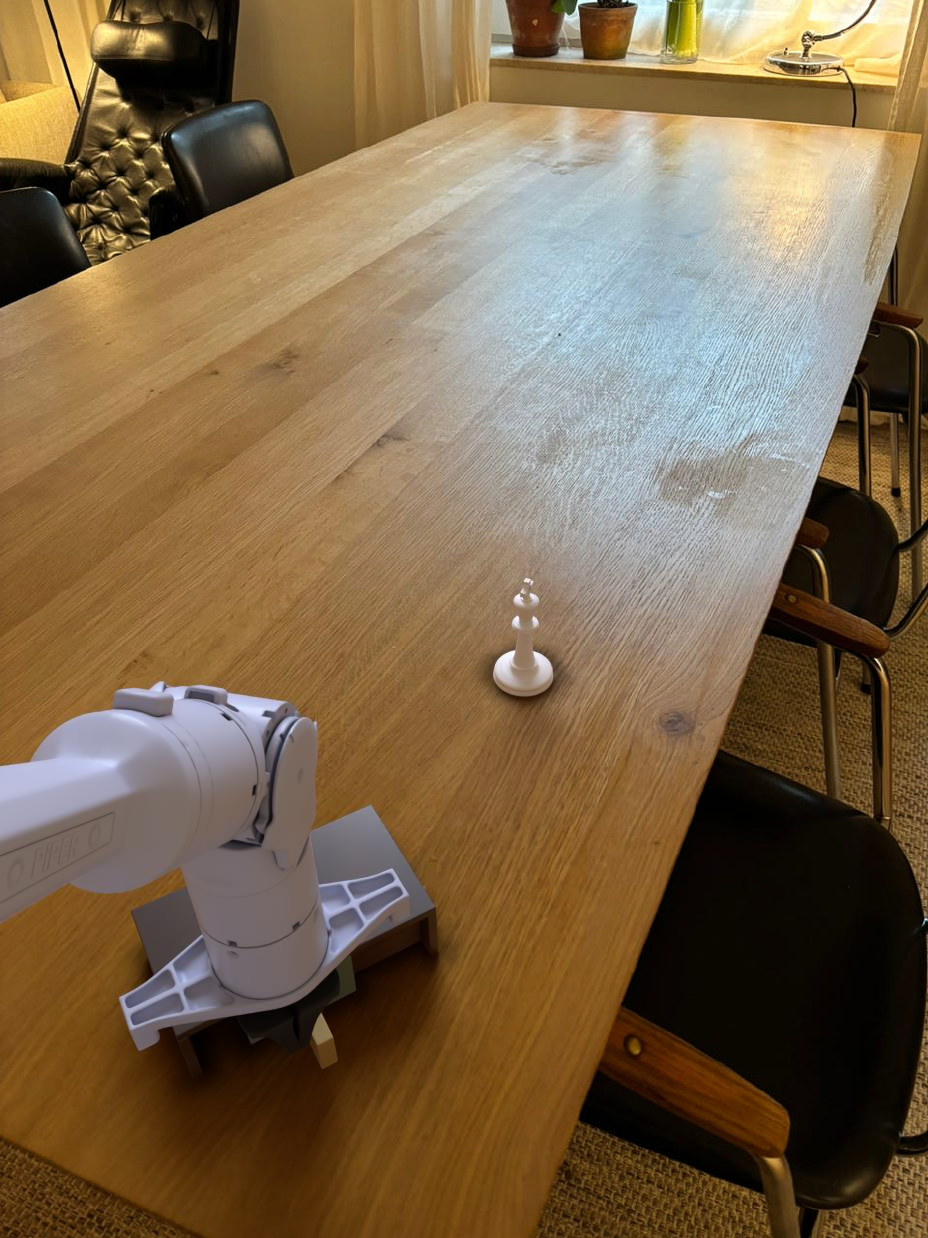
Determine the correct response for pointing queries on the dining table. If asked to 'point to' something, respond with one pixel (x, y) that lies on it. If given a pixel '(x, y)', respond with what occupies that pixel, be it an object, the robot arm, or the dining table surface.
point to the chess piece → (524, 652)
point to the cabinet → (339, 856)
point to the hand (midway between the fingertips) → (292, 1034)
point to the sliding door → (321, 1032)
